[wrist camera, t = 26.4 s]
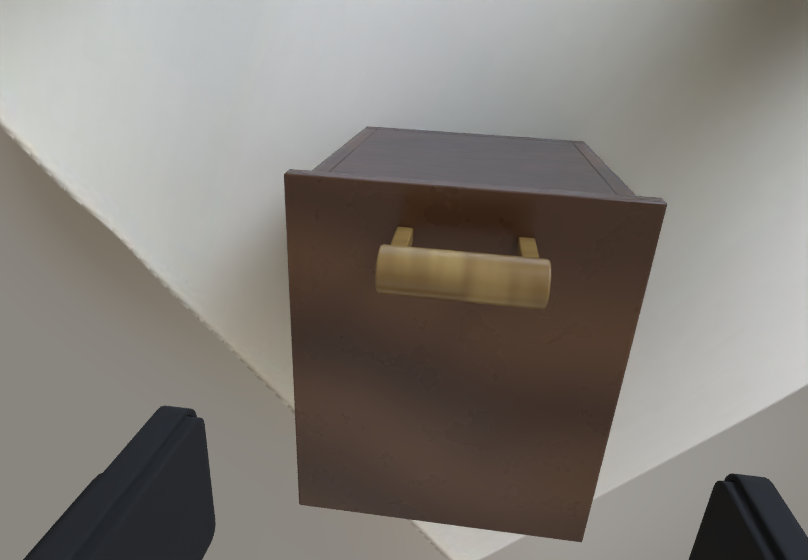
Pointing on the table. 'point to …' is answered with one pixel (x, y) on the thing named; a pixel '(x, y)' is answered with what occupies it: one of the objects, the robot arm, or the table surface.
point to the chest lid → (460, 345)
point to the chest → (475, 160)
